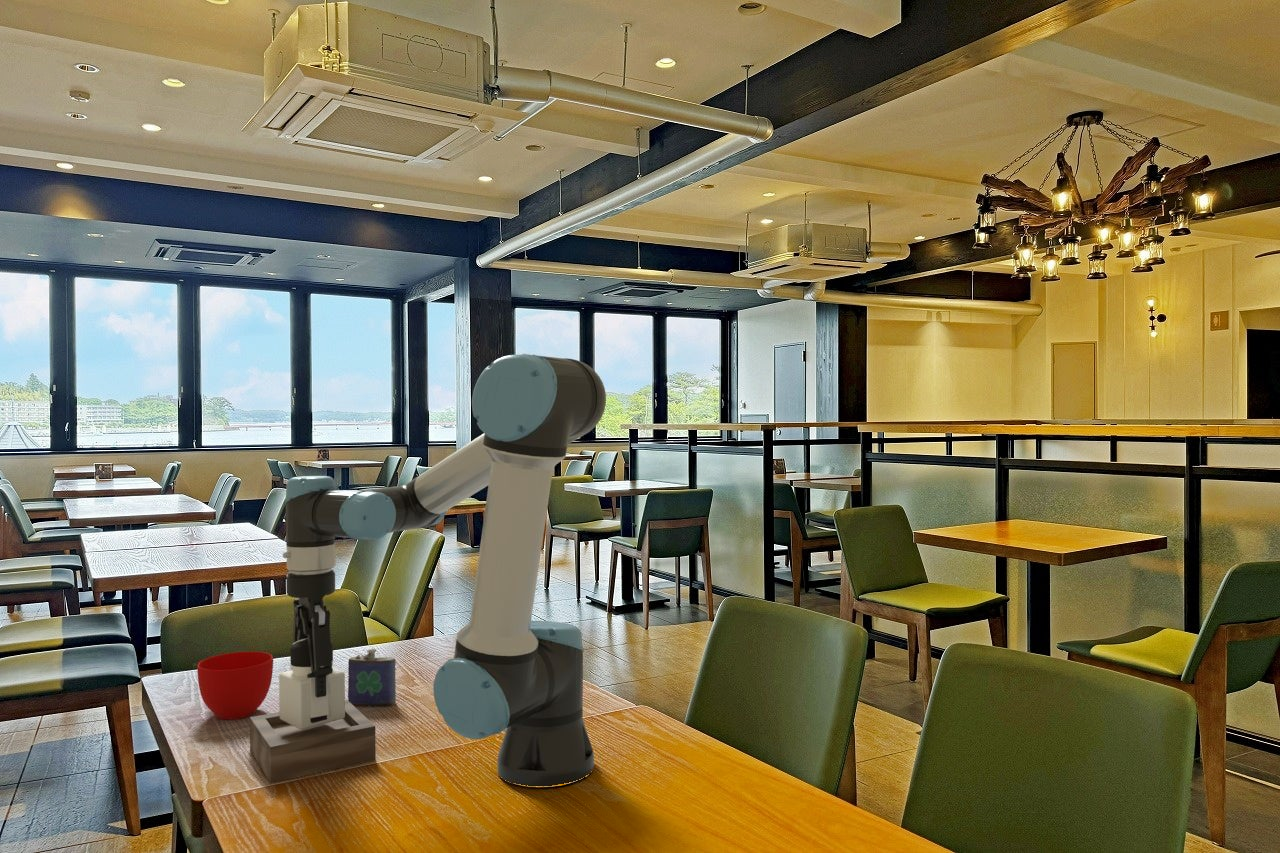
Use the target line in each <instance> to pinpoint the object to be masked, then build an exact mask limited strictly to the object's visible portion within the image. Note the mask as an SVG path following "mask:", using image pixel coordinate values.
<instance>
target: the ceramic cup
mask: <svg viewBox="0 0 1280 853" xmlns="http://www.w3.org/2000/svg"><path fill="white" fill-rule="evenodd" d="M196 667H197V668H196V669H197V671H196V672H197V681H198V687H199V688H198V689H199V692H200V696H201V699H202V701H203V702H204V705H206V707H207V709H208V710H209V711H210V712H211V713H212V714H214V715H215V716H216V717H217V719H221V720H238V719H242V718H246V717H251V716H252V715H254V714H255V713H256V711H257V710H258V708H260V706H261V705H262V704H263V702H264V701H265V699H266V697H267V695H268V693H269V691H270V688H271V684H272V679H273V672H274V670H273V669H274V657H273V655H272V654H271V653H269V652H264V651H235V652H227V653H222V654H217V655H213V656H210V657H208V658H205V659H202V660H200V661H199V662H198V663H197V666H196Z"/></svg>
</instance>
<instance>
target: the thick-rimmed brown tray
mask: <svg viewBox="0 0 1280 853" xmlns="http://www.w3.org/2000/svg"><path fill="white" fill-rule="evenodd" d="M376 746H377V745H376V725H375V724H374V723H373V722H372V721H370V719H368V717H366V716H365V715H364V714H363V713H362V712H361V711H360V710H359V709H358V708H357V707H356V706H353V705H352V704H351V703H350V702H349V701H348V699H345V717H344V718H343V719H340V720H336V721H332V722H329V723H325V724H321V725H318V726H314V727H310V728H307V729H303V730H300V729H298V728H297V727H295V726H293V725H291V724H289V723H287V722H285V721H283V720H281V719H280V714H279V711H277V712H272V713H265V714H261V715H255V716H254V715H253V716H249V751H250V752H251V754H252V755H253V757H254V759H255V761H256V762H257V764H258V766H259V767H260V768H261V770H262V772H263V773H264V775H265V776H266V778H267V780H268V781H269V783H270V784H273V783H277V781H278V782H281V780H282V781H287V780H292V779H295V778H294V777H296V778H299V777H298V776H300V777H304V776H303V775H305V776H308V775H307V774H309V775H313V773H314V774H318V773H323V772H327V771H332V770H336V769H340V768H341V769H342V768H345V767H349V766H355V765H358V764H363V763H368V762H372V761H376V760H377V759H376V757H377V755H376V753H377V752H376ZM322 771H323V772H322ZM272 782H273V783H272Z"/></svg>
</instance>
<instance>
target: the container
mask: <svg viewBox="0 0 1280 853" xmlns="http://www.w3.org/2000/svg"><path fill="white" fill-rule="evenodd" d="M289 649H290V655H289V656H290V670H288V671H283V672H280V673H279V675H278V676H279V677H278V683H279V684H278V686H279V687H278V690H279V691H278V694H279V698H278V699H279V703H278V704H279V706H278V708H279V709H278V710H279V711H278V712H279V714H280V719H281V720H283V721H285V722H287V723H289V724H291V725H293V726H295V727H297V728H298V729H300V730H303V729H307V728H310V727H314V726H318V725H321V724H325V723H329V722H332V721H336V720H340V719H343V718H344V717H345V700H346V680H345V678H346V676H345V674H346V673H345V672H344V671H342V670H339V669H337V668H334V667H333V666H334V643H333V641H331V657H332V668H333V671H332V674H329V675H328V710H329V715H324V716H319V717H314V718H311V717H310V678H307V675H308V674H309V673H311V663H310V655H309V646H308V638H306V639H301V640H299V641H297V642H295V643H293V642H292V644H291V645H290V648H289ZM322 667H324V666H322Z"/></svg>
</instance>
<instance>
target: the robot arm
mask: <svg viewBox="0 0 1280 853" xmlns="http://www.w3.org/2000/svg"><path fill="white" fill-rule="evenodd" d="M602 380H603V379H601V377H600V376H599V374H598V373H597V372H596V371H595V369H593V368H592V367H591V366H590V365H588V364H586V363H585V362H582V361H580V360H577V359H573V358H568V357H567V358H566V357H565V358H562V357H560V358H559V357H553V356H544V355H537V354H534V353H531V354H528V353H522V354H509V355H504V356H502V357H500V358H497V359H495V360H494V361H492V362H491V364H489V365H488V366H487V367H485V368H484V369H483V371H482V372H481V374H480V375H479V377H478V378H477V380H476V383H475V385H474V388H473V392H472V396H471V397H472V398H471V407H472V408H471V409H472V414H473V417H474V418H475V419H476V421H477V422H476V425H477V426H478V428H479V429H480V430H481V432H483V433H482V434H481V435H479V436H477V437H476V438H474V439H473V440H472V441H470V442H469V443H466V444H465V445H464V446H462V447H461V448H459V449H458V450H456V451H454V452H453V453H451V454H450V455H448V456H447V457H445V458H444V459H442V460H441V461H439V462H438V463H436V464H435V465H433V466H432V467H430V468H428V469H427V470H425V471H424V472H422V473H421V474H420V475H418V476H417V477H414V478H413V479H412V480H410V481H409V482H407V483H405V484H403V485H397V486H388V487H380V488H379V487H377V488H370V489H367V488H366V489H359V490H357V489H354V490H349V489H348V490H345V489H343V490H341V489H339V490H338V489H337V488H336V486H335V479H334V478H333V477H331V476H329V475H328V476H327V475H303V476H294V477H291V478H289V479H288V480H287V482H286V485H285V487H286V488H285V501H284V505H285V535H286V536H285V541H286V542H285V543H286V544H285V545H286V551H285V552H283V553H282V558H284V559H286V569H287V570H288V571H289V572H288V573H287V574H286V576H285V577H286V578H285V579H286V581H285V582H286V585H285V586H286V592H285V593H286V595H287V596H288V597H290V598H294V599H293V602H292V604H293V631H292V644H293V643H295V642H297V641H299V640H301V639H306V638H308V646H309V655H310V663H311V673H309V674H308V675H307V678H310V717H311V718H314V717H319V716H324V715H329V710H328V675H329V674H332V671H333V668H334V667H333V666H332V657H331V642H332V640H331V626H330V625H331V624H330V621H331V612H330V610H327V605H324V597H325V596H330V595H332V594H334V592H335V591H336V571H334V567H335V566H336V537H337V538H346V539H356V540H359V541H367V540H380V539H383V538H384V537H385V536H386V535H387V534H391V533H395V532H397V533H398V532H401V531H402V532H404V531H408V530H409V531H410V530H418V529H421V530H422V529H426V528H429V527H430V526H435V525H437V524H439V523H440V522H441V521H442V520H443V519H444V517H445V515H446V514H447V512H448V510H450V509H452V508H453V507H455V506H457V505H458V504H460V503H461V502H463V501H465V500H467V499H468V498H470V497H471V496H473V495H475V494H476V493H478V492H481V490H483V489H485V488H486V487H488V488H487V493H486V494H487V495H486V502H485V509H484V518H483V524H482V530H481V539H480V545H479V552H478V560H477V568H476V573H475V575H476V576H475V582H474V589H473V595H472V597H473V598H472V604H471V610H470V611H471V612H470V618H469V622H468V624H466V625H465V626H463V627H462V628H461V629H459V631H458V632H457V633H456V639H455V640H456V641H455V646H454V653H453V658H449V659H447V661H446V662H444V663H443V665H442V666H440V667H439V669H438V670H437V671H436V674H435V676H434V681H433V689H432V690H433V698H434V702H435V706H436V707H437V708H436V709H437V712H438V713H439V714H440V715H441V716H442V719H443V720H444V721H443V722H445V723H446V725H447V726H448V727H449V728H450V729H451V730H452V731H453V732H455V733H456V734H458V735H459V736H462V737H463V738H467V739H469V740H482V739H483V740H484V739H485V738H488V737H491V736H495V735H498V734H501V733H502V732H503V731H505V733H504V735H503V739H502V742H501V745H500V749H499V751H498V753H497V754H498V755H497V760H496V761H497V770H498V771H497V770H496V771H497V775H498V774H499V775H498V776H500V777H502V778H503V779H504V780H506V781H509V782H511V783H516V784H521V785H526V786H527V785H528V786H552V785H558V784H564V783H569V782H573V781H576V780H579V779H581V778H583V777H585V776H586V775H588V774H590V773H591V771H592V770H593V768H595V753H594V749H593V747H592V743H591V740H590V737H589V733H588V731H587V728H586V724H585V722H584V716H583V714H584V712H583V710H584V706H583V702H584V700H583V697H584V694H583V693H584V692H583V690H584V687H583V686H584V680H583V679H584V677H583V675H584V668H583V667H584V652H585V651H584V650H585V648H584V647H583V646H584V645H583V633H582V631H581V629H580V628H579V627H578V626H576V625H574V624H571V623H566V622H559V621H553V620H552V621H549V620H532V617H533V610H534V602H535V595H536V590H537V583H538V574H539V568H540V561H541V555H542V548H543V542H544V541H543V540H544V534H545V526H546V520H547V513H548V506H549V500H550V493H551V485H552V478H553V472H554V471H553V470H554V468H555V467H556V466H557V464H559V463H560V462H561V461H563V460H564V459H566V456H567V449H568V445H569V444H571V443H573V442H574V441H576V440H579V439H580V438H581V437H583V436H584V435H587V434H588V433H590V432H591V431H592V430H593V429H594V428H595V427H596V426H598V424H599V423H600V421H601V420H602V417H603V415H604V413H605V409H606V405H607V393H606V388H605V386H604V382H603V381H602ZM322 666H324V667H322ZM593 771H594V770H593ZM591 774H592V773H591ZM591 774H590V775H591ZM500 777H499V778H500ZM503 779H502V780H503ZM504 780H503V781H504ZM506 781H505V782H506Z"/></svg>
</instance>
